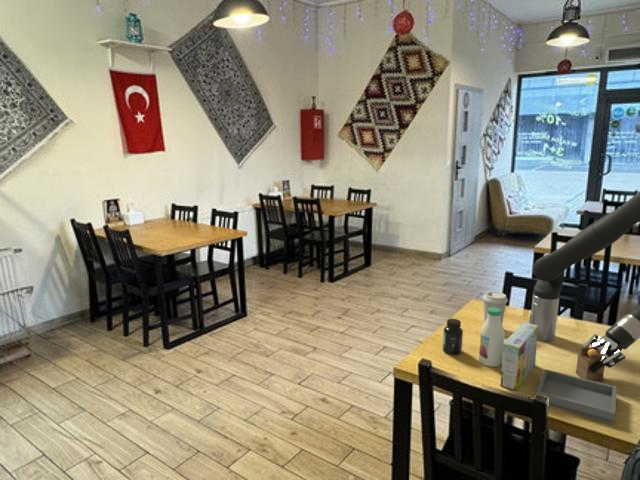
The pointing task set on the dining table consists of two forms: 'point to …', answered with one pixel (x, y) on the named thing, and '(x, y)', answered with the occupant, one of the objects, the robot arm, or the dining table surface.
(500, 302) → the coffee cup
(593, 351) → the ball
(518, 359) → the snack box
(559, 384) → the tray
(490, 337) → the milk bottle
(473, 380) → the dining table surface
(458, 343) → the supplement bottle
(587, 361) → the wooden box
